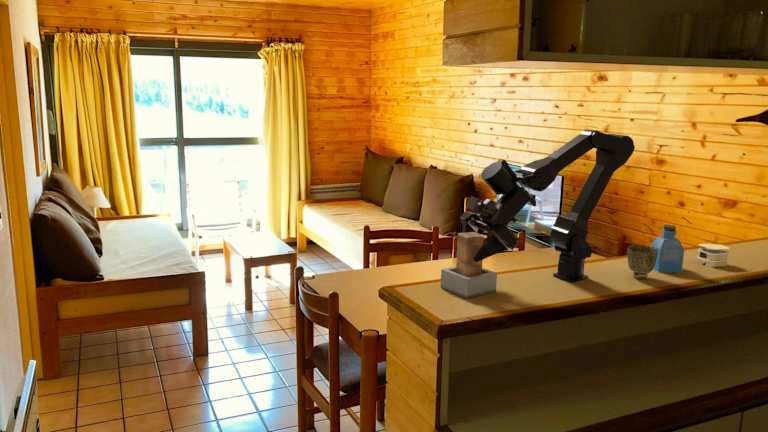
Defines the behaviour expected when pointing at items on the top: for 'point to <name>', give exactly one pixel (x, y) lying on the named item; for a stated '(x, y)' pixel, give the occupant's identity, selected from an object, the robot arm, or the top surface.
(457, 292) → the slate well
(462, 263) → the walnut block
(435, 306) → the top surface
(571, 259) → the robot arm
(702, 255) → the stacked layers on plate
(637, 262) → the cup
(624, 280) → the top surface
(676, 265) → the perfume bottle
